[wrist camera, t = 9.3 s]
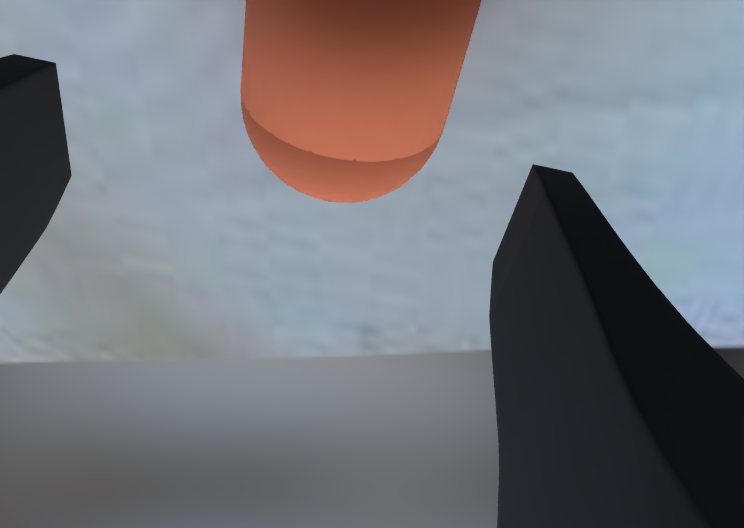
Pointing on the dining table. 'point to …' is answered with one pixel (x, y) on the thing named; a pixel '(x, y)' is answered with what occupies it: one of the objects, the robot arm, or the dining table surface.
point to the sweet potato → (350, 89)
